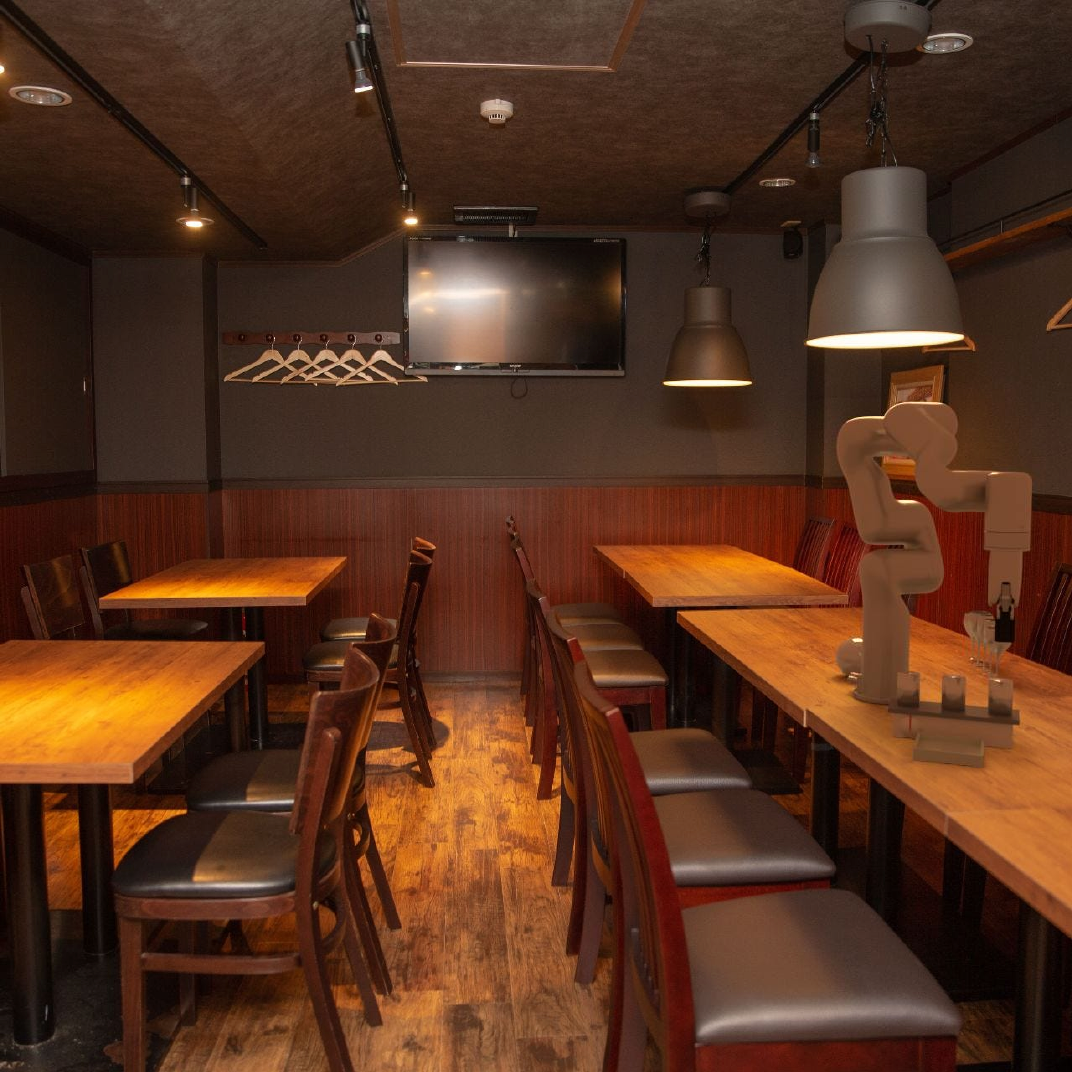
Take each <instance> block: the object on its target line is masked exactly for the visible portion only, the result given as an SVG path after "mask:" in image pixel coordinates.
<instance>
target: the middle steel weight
mask: <svg viewBox="0 0 1072 1072" xmlns="http://www.w3.org/2000/svg"><path fill="white" fill-rule="evenodd" d="M941 682H942V683H941V703H942V704H941V708H942V709H943V710H946V711H952V712H962V711H965V705H966V692H967V691H966V688H967V677H966V676H965V675H961V674H954V673H950V674H949V673H947V674H942V681H941Z"/></svg>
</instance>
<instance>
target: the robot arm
mask: <svg viewBox="0 0 1072 1072" xmlns="http://www.w3.org/2000/svg"><path fill="white" fill-rule="evenodd" d="M958 427H959V422H958V418H957V415H956V413H955V411H954V410H953V409H952V408H951V407H950V406H949V405H947V404H946V403H942V402H929V401H928V402H927V401H926V402H925V401H923V402H922V401H921V402H920V401H919V402H918V401H908V402H906V401H905V402H901V403H897V404H895V405H893V406H892V407H890V408H889V409H887V411H886V413H885V414H884V416H861V417H855V418H852V419H850V420H847V421H846V422H845V423H844V424H842V426H841V427H840V429H839V432H838V435H837V439H836V455H837V456H836V457H837V459H838V463H839V466H840V469H841V471H842V473H843V475H844V476H843V477H844V478H845V480H846V483H847V487H848V491H849V494H850V500H851V505H852V510H853V515H854V519H855V524H856V528H857V532H858V535H859V537H860V539H861V540H862V541H863V542H864V543H866V544H868V545H871V546H872V545H874V546H889V545H890V546H892V545H894V546H895V545H898V546H899V545H901V546H903V547H904V548H883V549H876V550H875V549H874V550H873V551H870V552H867V554H865V555H864V556H863V557H862V558H861V560H860V563H859V566H858V577H859V583H860V589H861V590H860V591H861V595H862V597H861V598H862V630H861V631H862V633H861V634H862V635H861V638H862V666H861V674H859V673H854V672H851V673H850V675H849V676H848V675H847V679H846V680H847V682H848V683H852V684H856V688H854V689H853V691H852V693H853V694H852V696H853V697H854V698H855V699H857V700H858V701H861V702H862V701H863V702H866V703H873V704H878V705H889V704H890V701H891V699H892V698H894V699H897V672H898V671H910V646H911V643H910V642H911V641H910V639H911V615H910V611H909V609H908V607H907V605H906V603H905V602H904V599H903V598H902V596H901V595H912V594H913V595H914V594H929V593H933V592H935V591H936V590H938V589H939V588H941V586H942V583H943V580H944V577H945V576H944V575H945V567H944V562H943V561H944V560H943V556H942V552H941V548H940V547H941V546H940V543H939V538H938V534H937V529H936V525H935V522H934V518H933V516H932V513H931V512H930V509H928V508H927V506H926V505H925V504H923V503H922V502H920V501H918V500H912V499H911V500H909V499H906V500H905V499H901V500H900V499H899V500H898V499H897V498H895V495H894V494H893V491H892V487H891V480H890V479H889V477H888V474H887V473H886V472H885V470H884V469H883V468H882V466H880V465H879V464H878V462H876V460H874V457H884V458H886V457H888V458H890V457H893V458H894V457H896V458H897V457H901V458H903V457H909V458H910V459H911V460H912V461H914V463H915V464H914V479H915V484H916V487H917V488H918V490H919V491H920V493H922V495H923V496H925V498H927V500H929V502H930V503H932V504H933V506H935V507H936V508H938V509H940V510H942V511H944V512H950V513H962V512H963V513H965V512H966V513H969V512H971V513H972V512H975V513H982V512H984V522H983V523H984V524H983V525H984V529H983V550H985V551H989V560H988V561H989V562H988V583H987V584H988V586H987V589H988V590H987V593H988V594H987V597H988V598H987V604H988V606H989V607H993V604H996V611H995V615H994V616H995V617H994V619H995V641H996V642H1007V643H1011V644H1013V643H1015V641H1016V619H1015V615H1016V614H1015V613H1016V612H1015V608H1017V607H1018V606H1019V602H1020V596H1021V587H1022V578H1023V577H1022V575H1023V572H1022V571H1023V552H1031V530H1032V502H1033V501H1032V495H1033V492H1032V490H1033V482H1032V481H1033V480H1032V477H1031V476H1030V474H1029V473H1026V472H1022V471H1020V472H1019V471H997V470H996V471H995V470H951V469H949V468H948V467H947V466H948V465H949V464H950V463H951V462H952V461H953V459H954V458H955V456H956V455H957V451H958V441H957V438H956V437H955V436H956V434H957V432H958Z"/></svg>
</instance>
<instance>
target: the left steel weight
mask: <svg viewBox="0 0 1072 1072" xmlns="http://www.w3.org/2000/svg"><path fill="white" fill-rule="evenodd" d="M920 695H921V673H920V672H918V671H914V670H909V671H898V672H897V705H899V706H902V707H919V702H920V701H921V700H920V697H921V696H920Z"/></svg>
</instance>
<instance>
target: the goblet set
mask: <svg viewBox="0 0 1072 1072" xmlns="http://www.w3.org/2000/svg"><path fill="white" fill-rule="evenodd" d="M963 626H964V629H965V631H966V633H967V634H968V636H969V638H970V641H971V658H970V659H969V660H977V662H972V663H973V665H983V667H978V668H979V669H981V670H989V669H990V670H989V671H988V672H984V673H985V674H986V675H990V676H989V677H988V678H989V679H991V678H992V677H993V676H994V675H996V676H995V677H994V678H999V676H998V675H999V674H998V671H999V661H1000V658H1001V656H1002V654H1003V653H1004V652H1005V651H1006V650H1008V649H1009V648H1010V647H1011V645H1012V643H1007V642H996V641H995V617H994V615H993V614H991V612H989V611H984V610H982V611H981V610H971V611H969V612H968V611H967V612H964V617H963ZM975 642H976V645H977V657H976V658H975V657H974V653H975V652H974V651H975ZM981 645H982V649H983V663H981V662H979V660H980V653H981V652H980V651H981ZM987 648H988V651H989V668H988V667H985V664H986V652H987ZM993 656H994V659H995V674H994V672H992V671H991V669H992V662H993V661H992V659H993ZM966 659H967V658H966ZM967 660H968V659H967Z"/></svg>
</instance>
